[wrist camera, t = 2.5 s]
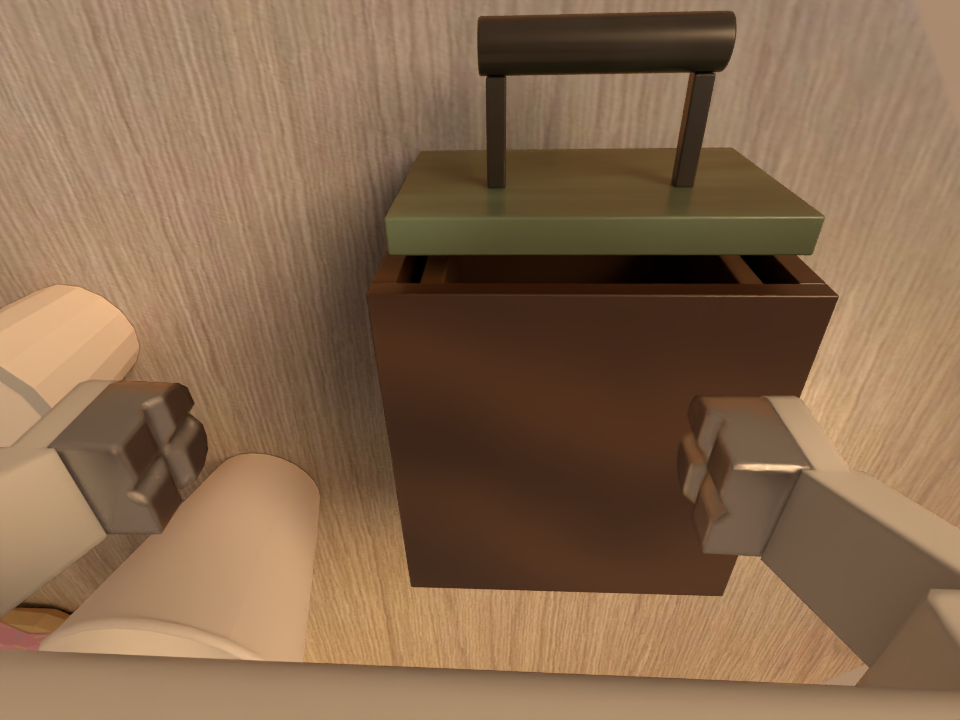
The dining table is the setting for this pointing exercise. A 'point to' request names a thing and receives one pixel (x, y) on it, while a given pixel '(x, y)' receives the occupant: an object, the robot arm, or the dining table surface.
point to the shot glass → (57, 352)
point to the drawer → (598, 173)
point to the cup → (213, 574)
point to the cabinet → (571, 418)
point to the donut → (29, 627)
